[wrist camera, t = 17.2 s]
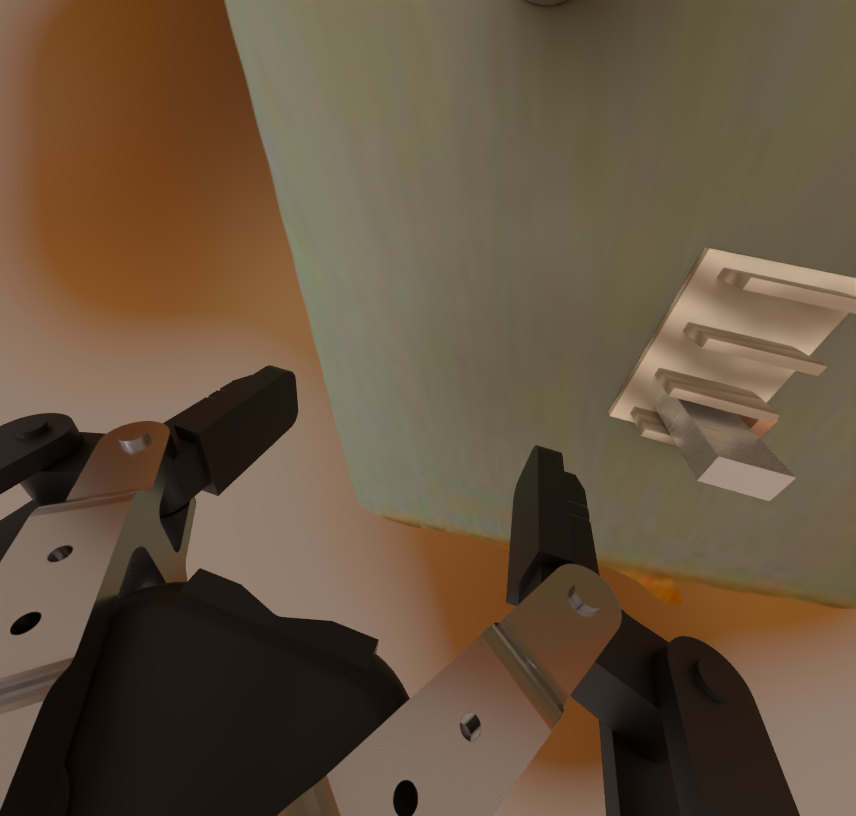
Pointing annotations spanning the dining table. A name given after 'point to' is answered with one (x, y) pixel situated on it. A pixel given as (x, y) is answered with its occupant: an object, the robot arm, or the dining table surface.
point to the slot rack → (735, 339)
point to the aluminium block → (723, 449)
